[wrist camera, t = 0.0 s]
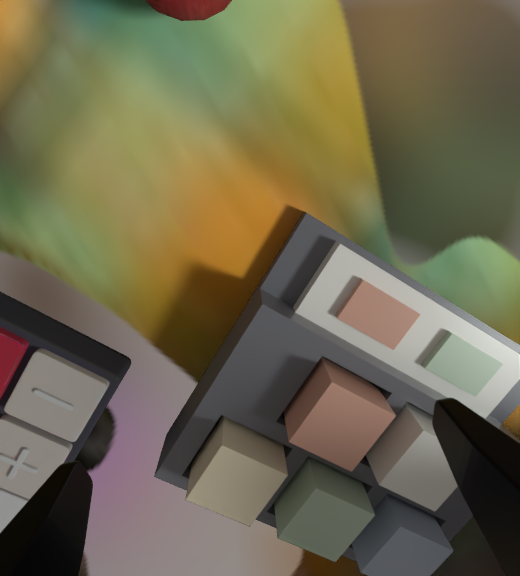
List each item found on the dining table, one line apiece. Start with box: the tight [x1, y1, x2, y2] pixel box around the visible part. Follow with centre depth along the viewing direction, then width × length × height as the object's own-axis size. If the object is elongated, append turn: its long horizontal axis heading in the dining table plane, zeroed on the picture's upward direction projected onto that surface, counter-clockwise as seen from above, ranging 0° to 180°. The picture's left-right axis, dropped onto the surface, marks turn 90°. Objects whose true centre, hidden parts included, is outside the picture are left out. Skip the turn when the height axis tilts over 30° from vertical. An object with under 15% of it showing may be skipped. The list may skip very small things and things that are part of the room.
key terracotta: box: [283, 357, 396, 472], centre depth 22 cm, size 4×4×3 cm
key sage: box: [274, 456, 375, 562], centre depth 24 cm, size 4×4×3 cm
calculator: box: [0, 292, 131, 533], centre depth 24 cm, size 11×4×15 cm
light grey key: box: [366, 403, 458, 511], centre depth 23 cm, size 4×4×3 cm
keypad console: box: [155, 212, 520, 562], centre depth 25 cm, size 19×21×4 cm
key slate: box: [352, 494, 454, 576], centre depth 25 cm, size 4×4×3 cm
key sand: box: [186, 416, 288, 527], centre depth 23 cm, size 4×4×3 cm
